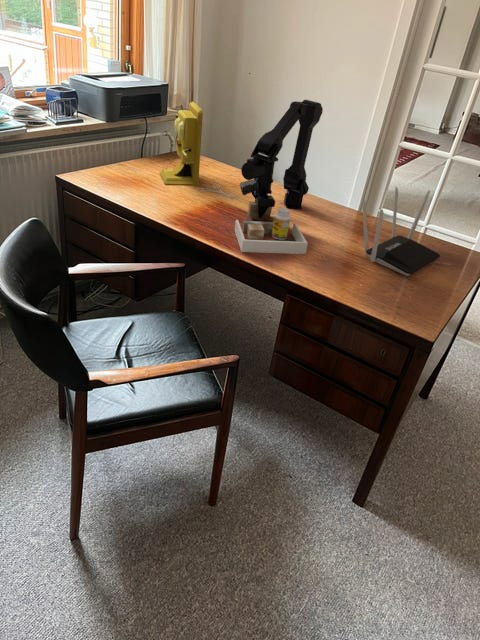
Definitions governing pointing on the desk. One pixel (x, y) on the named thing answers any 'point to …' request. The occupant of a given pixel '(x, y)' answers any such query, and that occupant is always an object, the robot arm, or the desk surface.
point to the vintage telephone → (186, 148)
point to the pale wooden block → (255, 231)
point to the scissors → (218, 191)
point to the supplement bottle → (281, 224)
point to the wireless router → (398, 245)
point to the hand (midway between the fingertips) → (259, 215)
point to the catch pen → (273, 243)
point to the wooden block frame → (254, 215)
